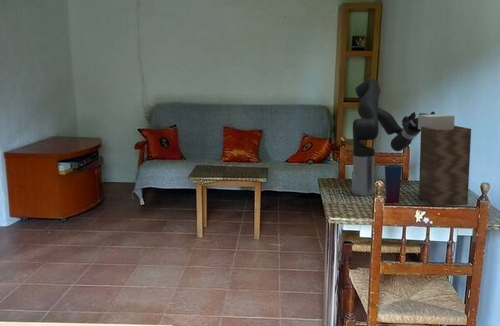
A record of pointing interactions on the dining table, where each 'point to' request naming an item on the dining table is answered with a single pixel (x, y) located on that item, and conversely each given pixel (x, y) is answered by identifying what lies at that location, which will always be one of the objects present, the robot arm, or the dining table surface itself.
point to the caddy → (436, 121)
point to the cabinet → (444, 165)
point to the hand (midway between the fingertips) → (424, 113)
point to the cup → (393, 182)
